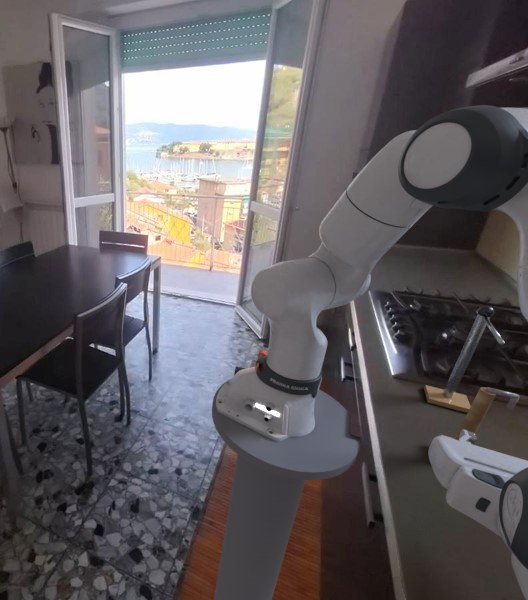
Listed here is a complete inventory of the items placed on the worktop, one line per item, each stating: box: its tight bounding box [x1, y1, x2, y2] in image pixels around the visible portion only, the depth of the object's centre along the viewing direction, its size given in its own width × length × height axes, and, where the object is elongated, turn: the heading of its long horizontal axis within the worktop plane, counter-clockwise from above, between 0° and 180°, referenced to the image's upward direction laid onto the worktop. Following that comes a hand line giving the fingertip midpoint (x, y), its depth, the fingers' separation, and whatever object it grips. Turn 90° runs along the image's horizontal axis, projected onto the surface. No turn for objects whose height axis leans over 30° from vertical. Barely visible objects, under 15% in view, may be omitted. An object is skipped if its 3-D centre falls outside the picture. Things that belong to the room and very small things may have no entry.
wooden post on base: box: [441, 386, 521, 440], centre depth 68 cm, size 7×5×18 cm
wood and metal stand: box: [423, 305, 505, 414], centre depth 78 cm, size 8×15×26 cm, turn 149°
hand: (505, 444), depth 56 cm, fingers open, 8 cm apart
